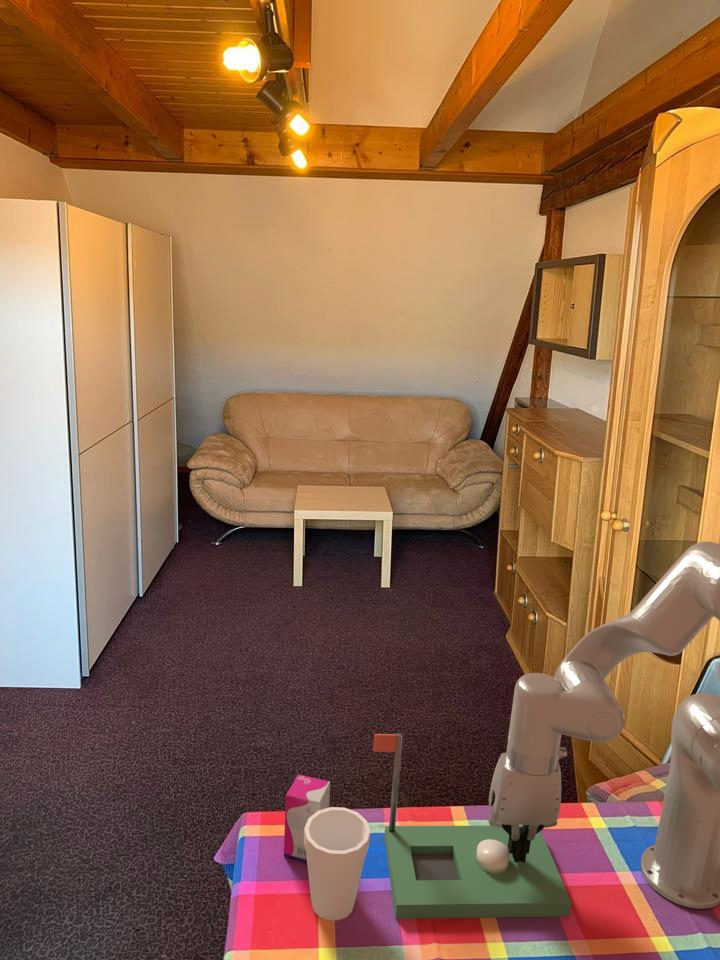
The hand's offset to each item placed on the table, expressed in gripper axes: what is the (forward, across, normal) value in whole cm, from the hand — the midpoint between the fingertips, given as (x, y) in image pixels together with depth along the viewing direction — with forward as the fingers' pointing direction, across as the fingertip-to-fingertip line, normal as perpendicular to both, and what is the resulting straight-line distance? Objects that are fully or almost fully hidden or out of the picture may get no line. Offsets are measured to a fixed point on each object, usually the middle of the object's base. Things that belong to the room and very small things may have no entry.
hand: (517, 855), depth 118 cm
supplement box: (+4, +33, -6) cm, 34 cm away
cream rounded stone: (+1, +4, 0) cm, 4 cm away
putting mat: (+4, +8, 0) cm, 9 cm away
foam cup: (+4, +29, +5) cm, 30 cm away
